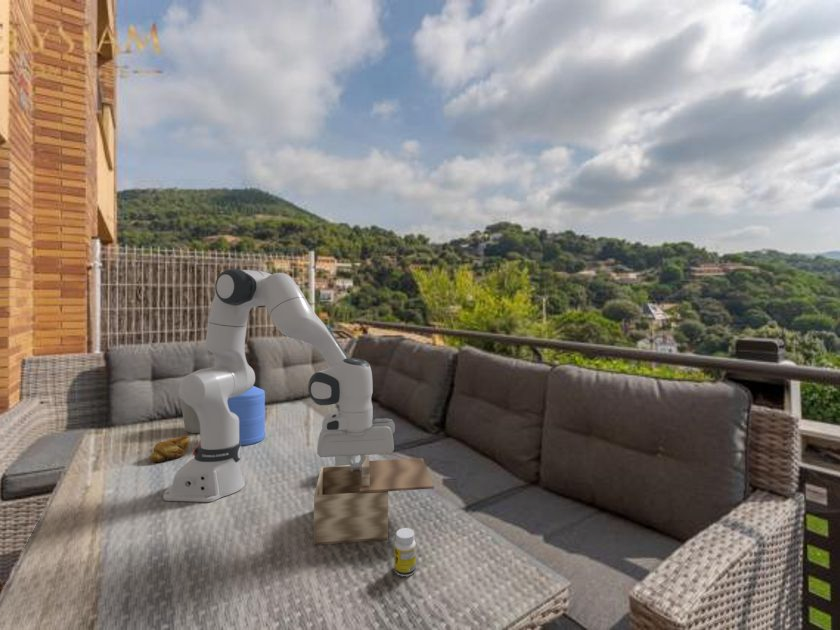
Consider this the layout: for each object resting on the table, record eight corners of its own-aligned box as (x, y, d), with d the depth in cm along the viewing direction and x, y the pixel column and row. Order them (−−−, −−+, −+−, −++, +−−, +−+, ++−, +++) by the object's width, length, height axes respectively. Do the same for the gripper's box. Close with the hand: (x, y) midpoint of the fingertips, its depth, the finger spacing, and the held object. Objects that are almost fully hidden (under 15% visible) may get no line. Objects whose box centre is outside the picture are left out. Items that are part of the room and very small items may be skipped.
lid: (359, 493, 98) (359, 481, 97) (359, 463, 116) (359, 453, 116) (433, 488, 100) (434, 476, 100) (422, 460, 119) (422, 450, 119)
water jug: (272, 438, 173) (272, 374, 173) (239, 449, 160) (239, 380, 160) (250, 432, 182) (250, 371, 181) (217, 441, 169) (217, 376, 168)
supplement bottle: (394, 563, 90) (394, 527, 90) (414, 562, 90) (415, 526, 90) (394, 578, 85) (394, 539, 85) (416, 577, 86) (416, 538, 85)
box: (313, 545, 96) (314, 496, 96) (321, 507, 114) (321, 466, 114) (387, 539, 99) (388, 491, 99) (383, 503, 117) (384, 463, 117)
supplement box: (354, 478, 134) (354, 441, 133) (334, 476, 135) (334, 440, 135) (362, 469, 141) (362, 434, 141) (342, 468, 142) (342, 433, 142)
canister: (197, 423, 195) (197, 380, 194) (231, 425, 192) (231, 381, 192) (169, 435, 177) (169, 388, 176) (206, 437, 174) (206, 389, 174)
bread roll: (154, 466, 143) (154, 444, 143) (143, 460, 149) (143, 439, 148) (192, 455, 153) (192, 435, 153) (181, 450, 159) (180, 430, 159)
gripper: (393, 414, 111) (393, 463, 111) (318, 417, 108) (318, 468, 108) (395, 421, 105) (395, 473, 105) (316, 424, 102) (316, 477, 102)
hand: (356, 470), depth 106 cm, fingers closed
